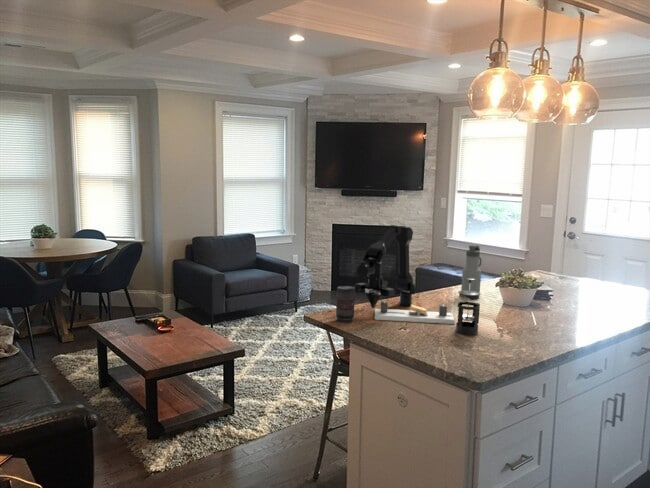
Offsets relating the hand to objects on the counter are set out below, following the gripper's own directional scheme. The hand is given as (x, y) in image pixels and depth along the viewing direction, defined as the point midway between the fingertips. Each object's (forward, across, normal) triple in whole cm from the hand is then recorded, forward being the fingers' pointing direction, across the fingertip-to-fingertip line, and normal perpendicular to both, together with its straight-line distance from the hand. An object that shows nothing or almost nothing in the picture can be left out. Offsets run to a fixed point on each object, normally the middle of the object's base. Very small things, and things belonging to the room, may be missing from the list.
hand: (373, 307), depth 250 cm
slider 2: (+1, -26, -17) cm, 31 cm away
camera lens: (+4, +4, +16) cm, 17 cm away
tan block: (0, -17, -11) cm, 20 cm away
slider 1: (+1, -4, -3) cm, 5 cm away
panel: (+4, -16, -10) cm, 19 cm away
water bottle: (+4, -16, -72) cm, 73 cm away
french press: (+4, -43, -7) cm, 44 cm away
